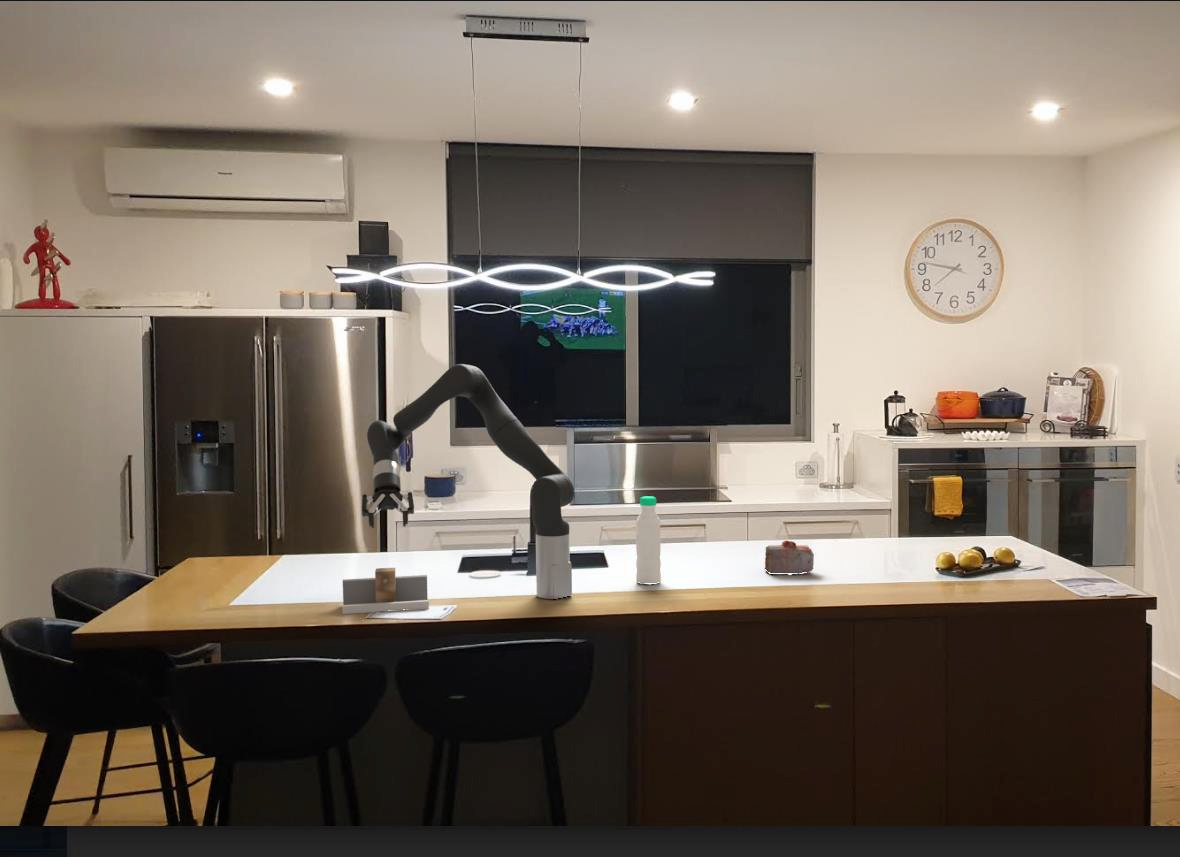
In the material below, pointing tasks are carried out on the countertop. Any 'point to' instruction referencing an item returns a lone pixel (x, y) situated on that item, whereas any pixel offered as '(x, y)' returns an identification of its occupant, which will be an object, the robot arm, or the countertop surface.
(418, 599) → the grey display ledge
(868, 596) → the countertop surface
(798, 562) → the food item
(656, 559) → the water bottle
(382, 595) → the walnut cabinet block
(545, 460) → the robot arm
